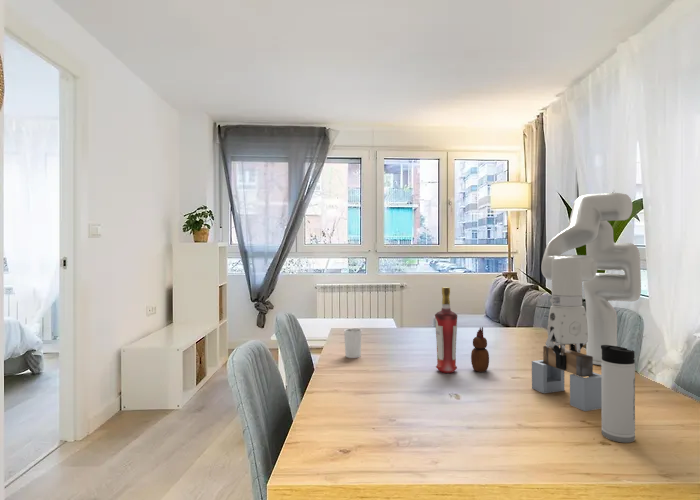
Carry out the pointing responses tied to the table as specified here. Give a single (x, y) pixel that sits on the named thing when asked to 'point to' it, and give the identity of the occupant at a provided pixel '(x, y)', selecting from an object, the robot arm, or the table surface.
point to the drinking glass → (352, 342)
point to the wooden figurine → (480, 353)
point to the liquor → (446, 335)
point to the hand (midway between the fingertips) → (567, 367)
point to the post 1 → (547, 378)
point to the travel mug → (618, 393)
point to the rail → (571, 361)
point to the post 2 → (586, 392)
